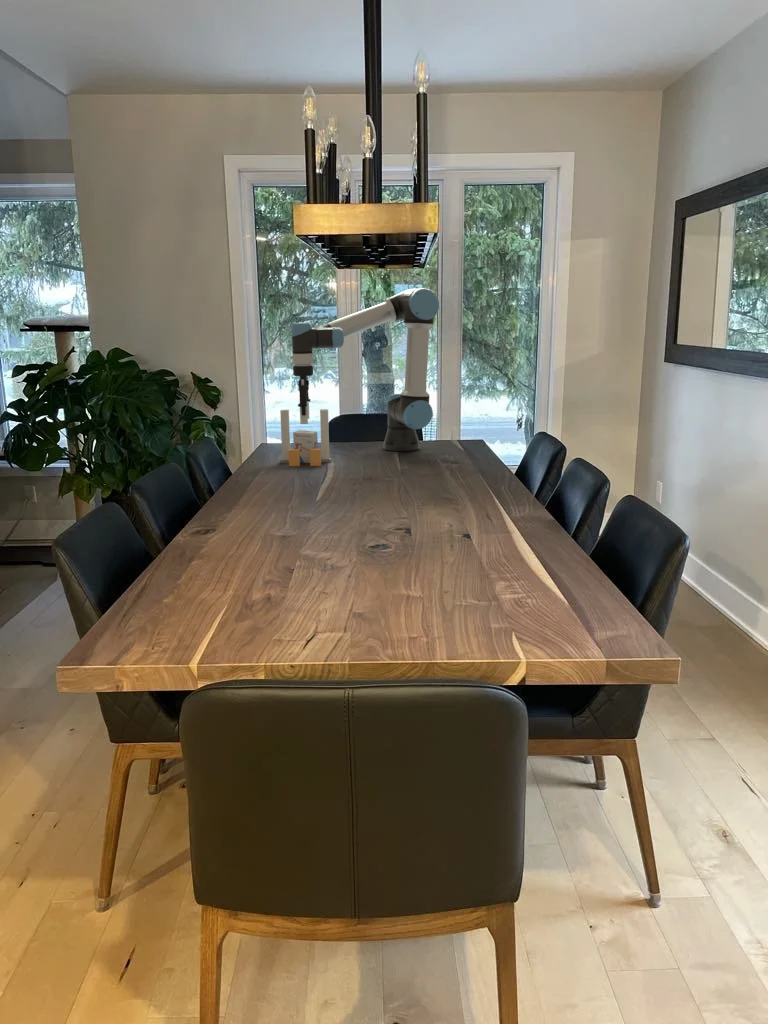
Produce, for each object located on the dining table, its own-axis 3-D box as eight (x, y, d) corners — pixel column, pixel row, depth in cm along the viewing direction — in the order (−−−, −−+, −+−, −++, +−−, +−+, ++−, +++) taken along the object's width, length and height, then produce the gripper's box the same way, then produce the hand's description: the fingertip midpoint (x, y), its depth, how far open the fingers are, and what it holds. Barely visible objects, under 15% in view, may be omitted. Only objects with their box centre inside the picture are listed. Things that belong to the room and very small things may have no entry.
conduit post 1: (292, 460, 298) (290, 409, 293) (291, 462, 294) (290, 410, 289) (281, 460, 298) (279, 409, 293) (280, 463, 294) (278, 410, 289)
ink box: (293, 462, 295) (292, 431, 292) (298, 459, 300) (297, 429, 297) (313, 463, 293) (312, 432, 290) (318, 461, 297) (317, 430, 294)
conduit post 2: (331, 460, 299) (330, 408, 294) (331, 462, 295) (329, 410, 289) (319, 460, 299) (318, 409, 294) (319, 462, 294) (318, 410, 289)
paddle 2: (321, 464, 291) (320, 448, 290) (320, 465, 288) (320, 449, 287) (310, 464, 291) (310, 448, 289) (310, 465, 288) (309, 450, 287)
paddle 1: (300, 464, 291) (299, 448, 289) (299, 466, 288) (299, 450, 286) (289, 464, 291) (288, 449, 289) (288, 466, 288) (288, 450, 286)
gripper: (295, 362, 299) (297, 417, 304) (290, 367, 275) (293, 426, 280) (314, 362, 299) (316, 416, 305) (311, 367, 275) (313, 425, 280)
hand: (305, 421), depth 292 cm, fingers open, 13 cm apart
